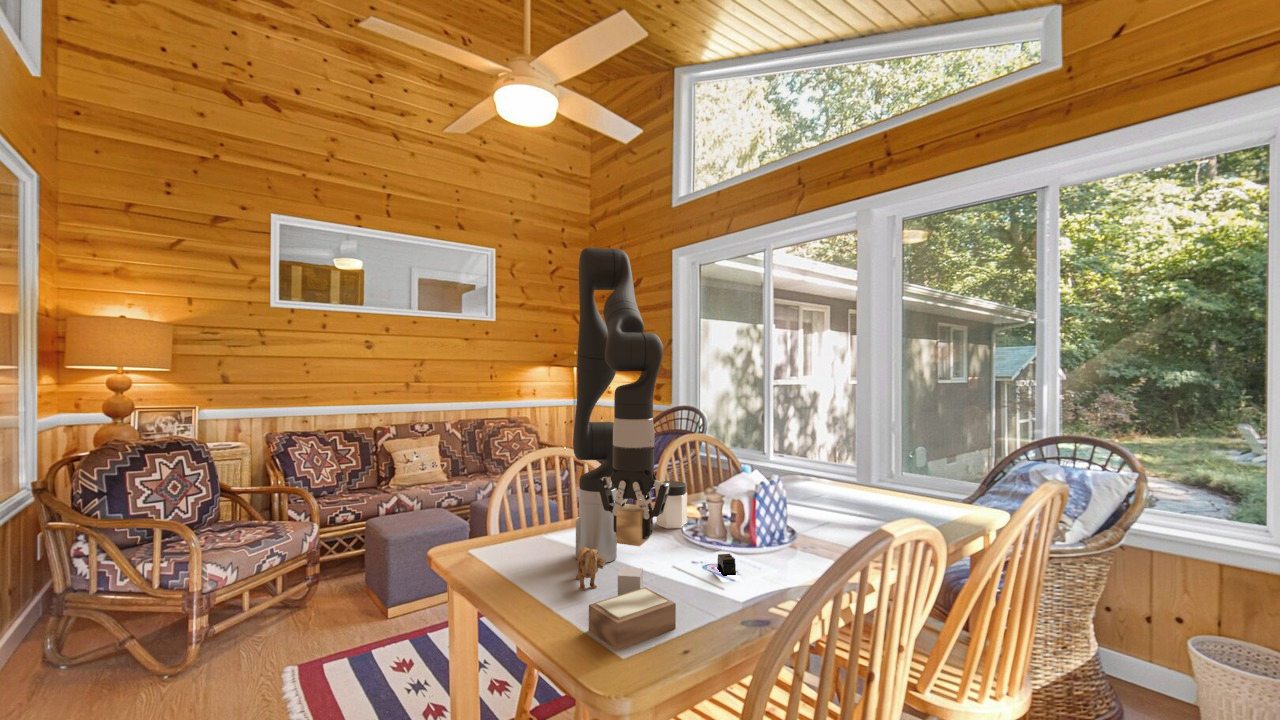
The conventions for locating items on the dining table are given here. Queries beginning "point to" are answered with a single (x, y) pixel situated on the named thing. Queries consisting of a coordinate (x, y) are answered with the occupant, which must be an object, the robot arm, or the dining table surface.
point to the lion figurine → (588, 566)
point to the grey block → (629, 580)
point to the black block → (726, 564)
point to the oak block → (630, 525)
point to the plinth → (631, 618)
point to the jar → (674, 507)
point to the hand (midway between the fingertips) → (633, 536)
